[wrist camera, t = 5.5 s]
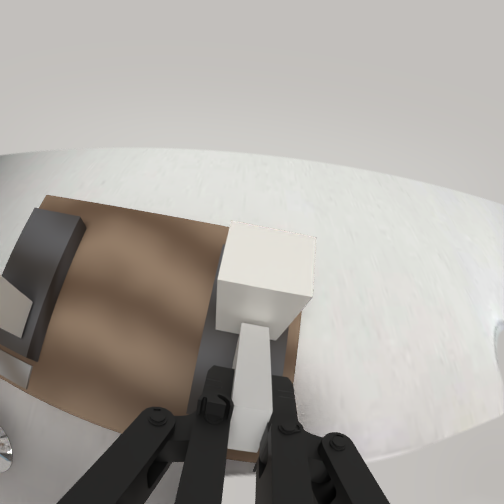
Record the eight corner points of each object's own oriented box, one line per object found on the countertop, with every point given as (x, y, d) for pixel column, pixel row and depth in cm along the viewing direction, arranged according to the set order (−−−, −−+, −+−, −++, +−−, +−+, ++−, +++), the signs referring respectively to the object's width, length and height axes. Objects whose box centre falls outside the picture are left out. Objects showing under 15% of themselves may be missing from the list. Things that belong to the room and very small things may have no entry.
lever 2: (276, 340, 19) (312, 296, 13) (215, 329, 19) (217, 279, 12) (281, 298, 21) (316, 237, 14) (224, 288, 21) (231, 220, 14)
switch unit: (277, 462, 18) (286, 469, 15) (-15, 366, 17) (-35, 358, 15) (303, 249, 27) (313, 231, 24) (50, 202, 26) (40, 183, 24)
